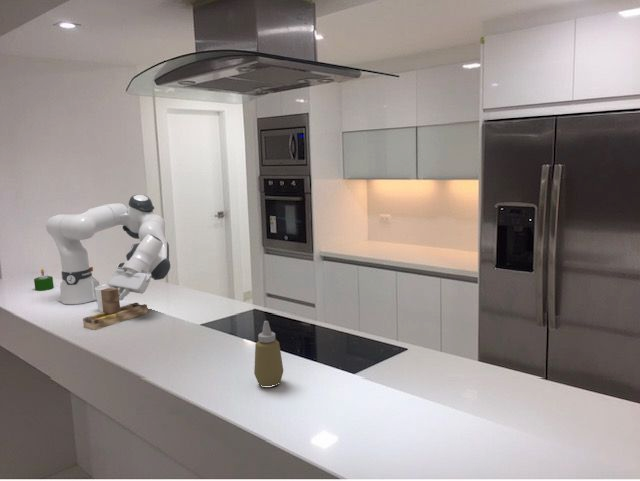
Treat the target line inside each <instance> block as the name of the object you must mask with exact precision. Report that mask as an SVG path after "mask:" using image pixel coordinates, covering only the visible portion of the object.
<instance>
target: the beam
mask: <svg viewBox="0 0 640 481" xmlns="http://www.w3.org/2000/svg"><path fill="white" fill-rule="evenodd" d="M148 312H149V310H148V305H147V304H145V303H144V304H139V302H133V303H130V304H126V305H123V306H120V311H119V312H117V313H114V314H111V315H107V316H106V313H103V312H99V313H96V314H93V315H89V316H86V317H83V318H82V322H83V328H85V329H89V330H94V331H95V330H100V329H102V328H106V327H108V326H112V325H114V324H117V323H118V324H119V323H120V322H121V323H122V322H123V321H126V320H127V321H128V320H131V319H133V318H136V317H140V316H142V315H145V314H148Z"/></svg>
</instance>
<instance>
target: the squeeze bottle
mask: <svg viewBox="0 0 640 481" xmlns="http://www.w3.org/2000/svg"><path fill="white" fill-rule="evenodd" d="M269 322H270V321H269V320H264V321H263V326H262V332H260V333H259V334H258V335H257V336H258V337H257V338H258V341H257V342H256V343H255V347H254V348H255V350H254V368H253V369H254V372H253V373H254V376H255V379H256V381H257V383H259V384H260V385H262V386H272V385H276V384H278V383H280V384H281V381H282V377H283V374H284V367H283V366H284V365H283V358H282V353H281V346H280V342H279V341H278V340H277V339H276V333H275V332H274V331H272V330H271V327H270V323H269ZM259 384H258V385H259ZM260 385H259V386H260Z"/></svg>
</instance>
